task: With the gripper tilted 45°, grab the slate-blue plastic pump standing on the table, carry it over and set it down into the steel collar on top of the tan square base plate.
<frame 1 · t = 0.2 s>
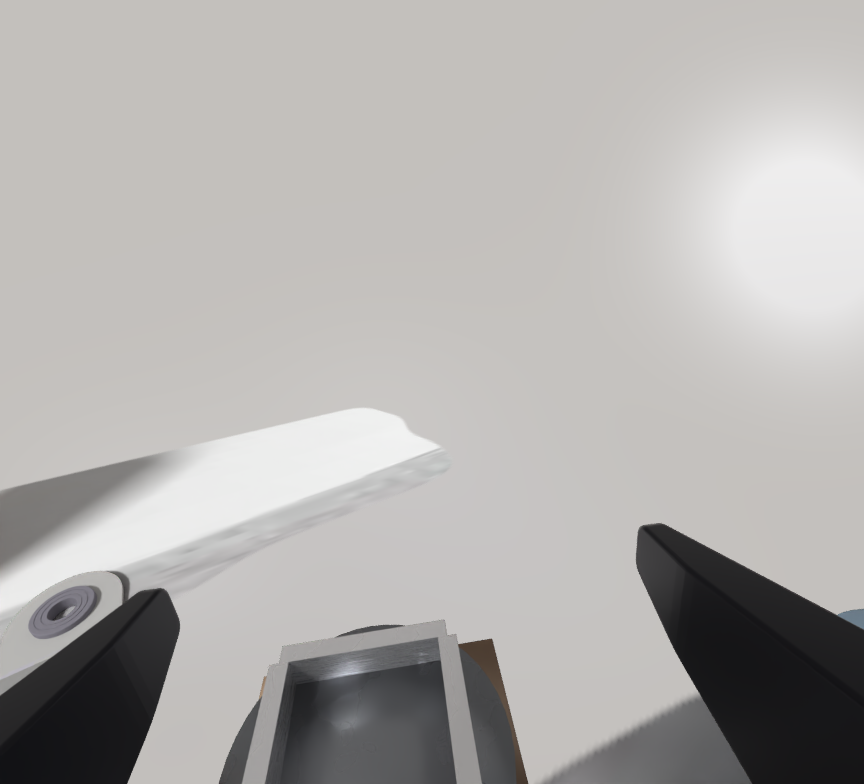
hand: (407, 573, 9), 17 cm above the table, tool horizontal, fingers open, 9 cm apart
bracket: (60, 652, 28), on the table
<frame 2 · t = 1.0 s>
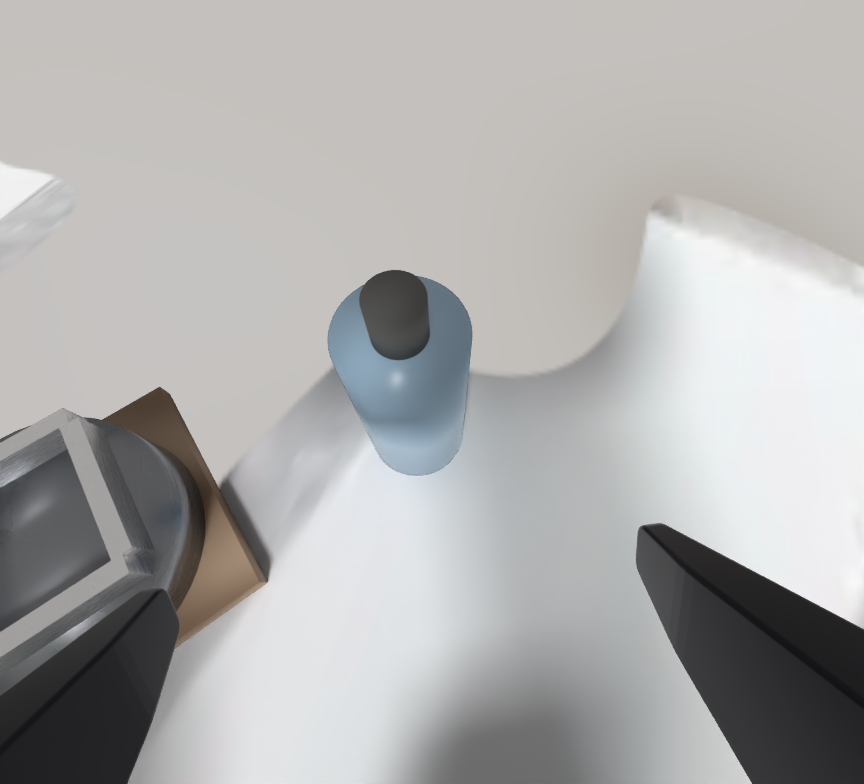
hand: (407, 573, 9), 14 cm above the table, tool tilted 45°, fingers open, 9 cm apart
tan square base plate: (101, 551, 22), on the table
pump: (417, 431, 24), on the table
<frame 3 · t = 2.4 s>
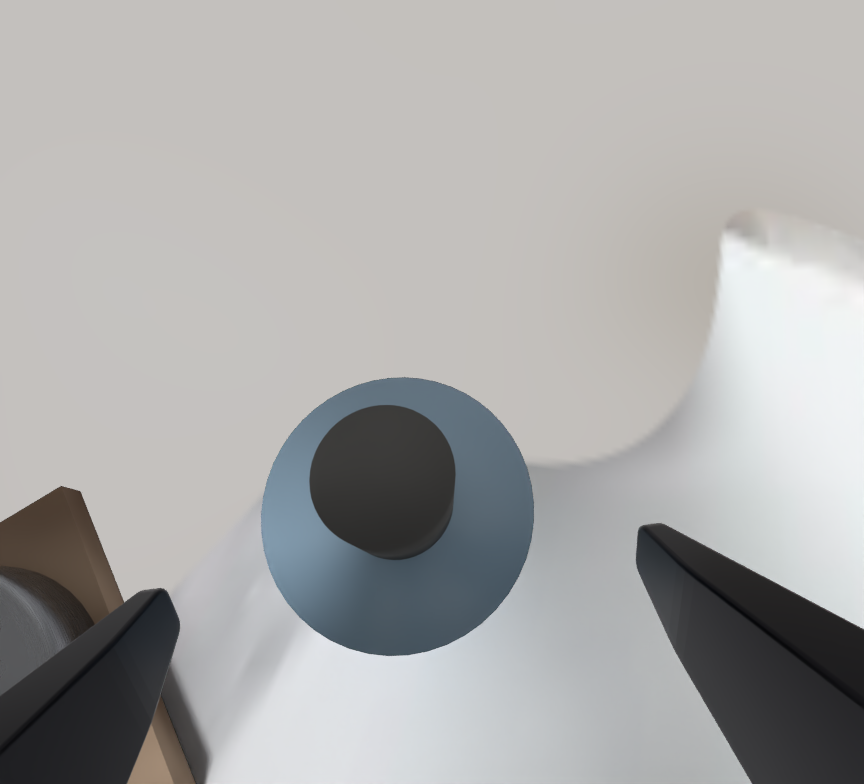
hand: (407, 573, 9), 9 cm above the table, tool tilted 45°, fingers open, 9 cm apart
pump: (423, 549, 17), on the table
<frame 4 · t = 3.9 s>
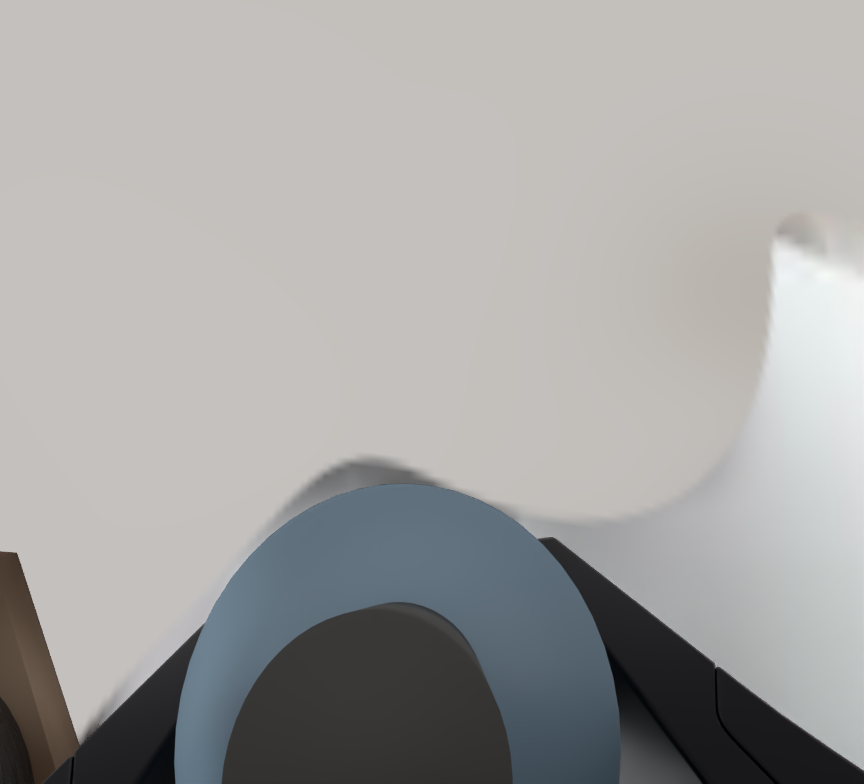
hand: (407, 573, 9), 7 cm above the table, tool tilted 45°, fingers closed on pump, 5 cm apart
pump: (428, 627, 14), on the table, touching gripper
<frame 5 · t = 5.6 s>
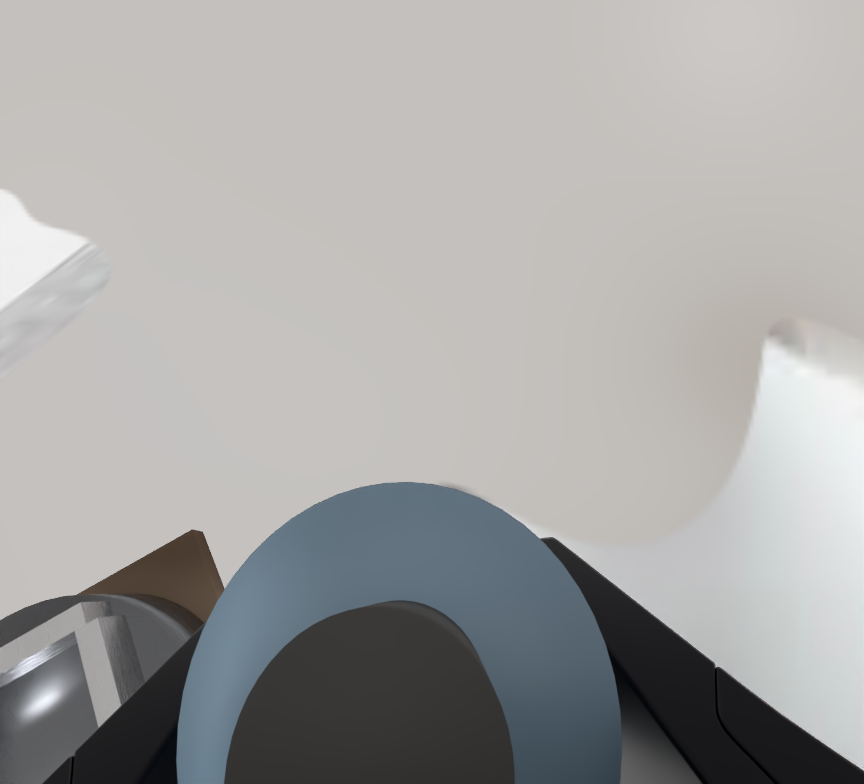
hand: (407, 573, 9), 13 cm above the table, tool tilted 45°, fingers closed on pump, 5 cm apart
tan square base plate: (115, 736, 19), on the table
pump: (429, 626, 14), point 7 cm above the table, touching gripper
when the fingers open (11 cm above the table, at t = 7.6 s): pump stays where it is, resting on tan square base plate.
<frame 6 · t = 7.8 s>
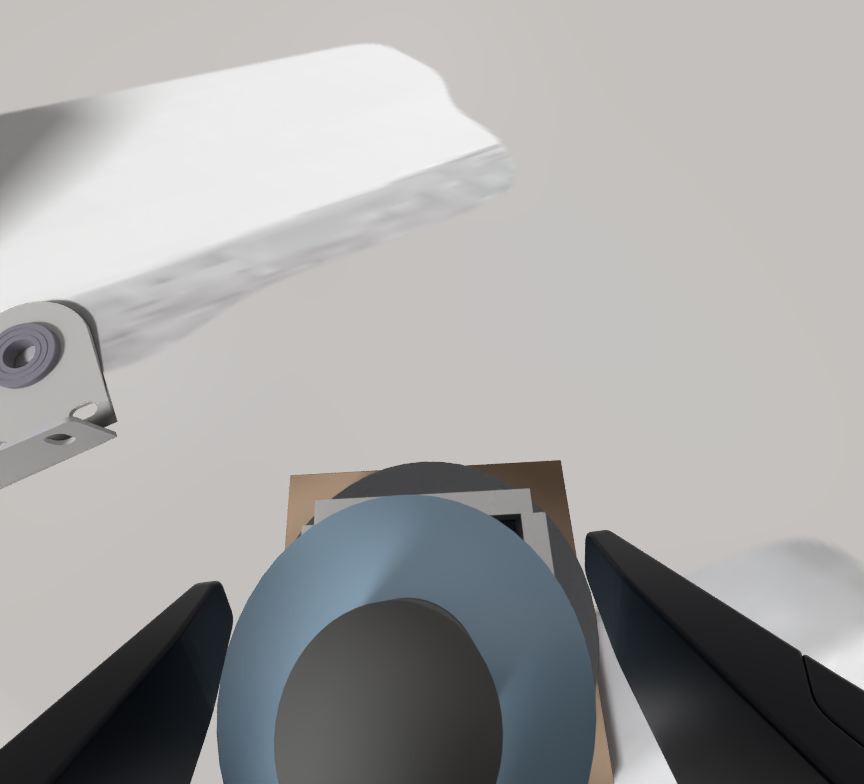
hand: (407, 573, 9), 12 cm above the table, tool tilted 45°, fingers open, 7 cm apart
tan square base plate: (432, 617, 19), on the table
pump: (428, 626, 15), point 4 cm above the table, touching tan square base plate
bracket: (40, 402, 24), on the table
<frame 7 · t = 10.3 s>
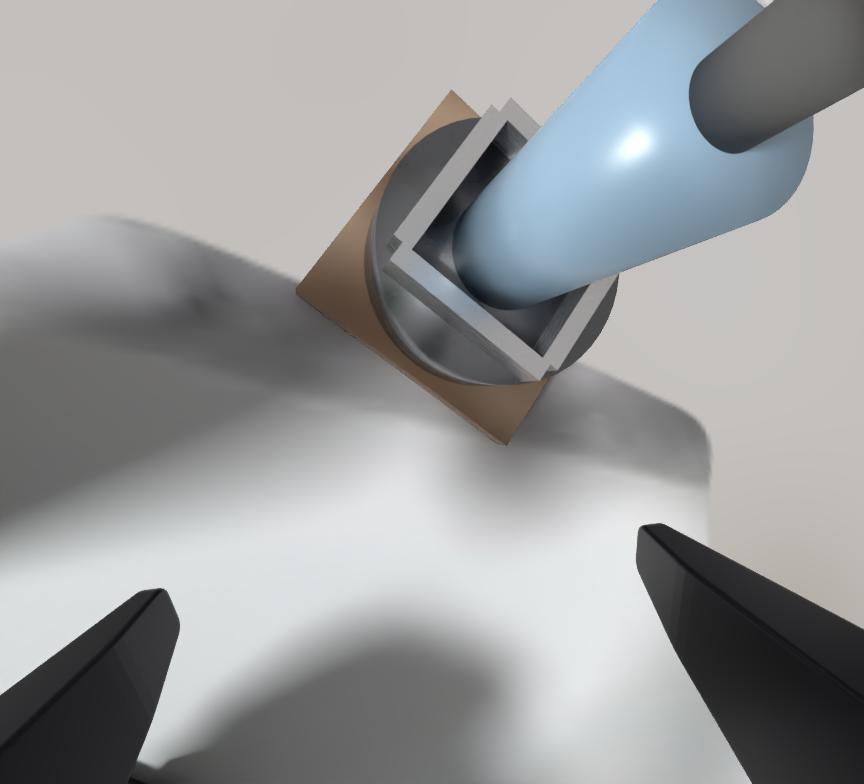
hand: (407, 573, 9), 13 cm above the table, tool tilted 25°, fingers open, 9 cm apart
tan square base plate: (471, 276, 23), on the table
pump: (506, 252, 19), point 4 cm above the table, touching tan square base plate
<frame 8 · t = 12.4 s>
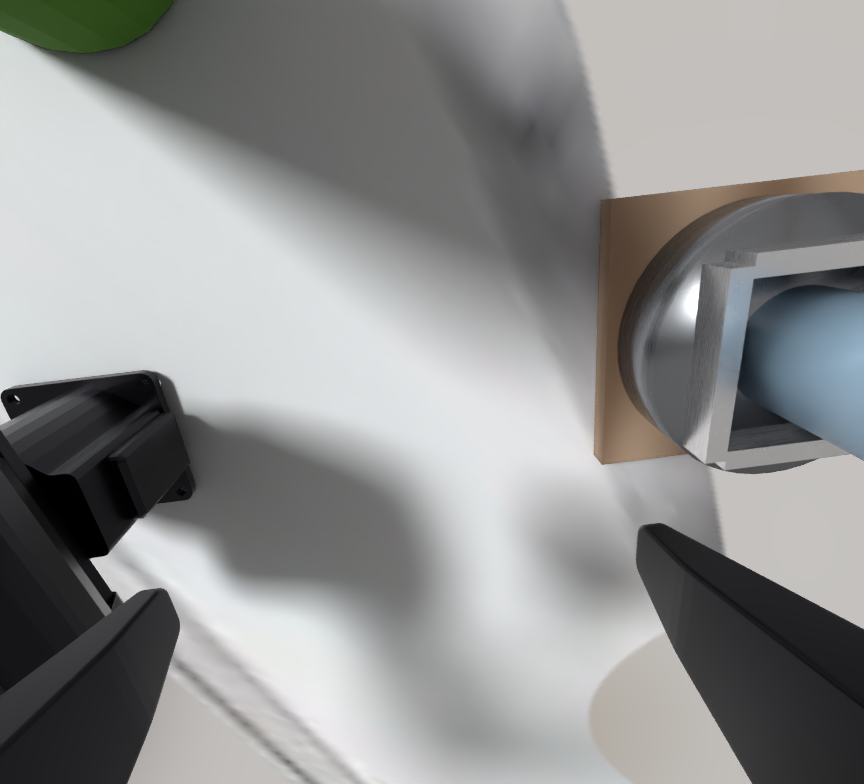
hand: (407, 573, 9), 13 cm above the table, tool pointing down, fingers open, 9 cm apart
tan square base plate: (724, 325, 21), on the table
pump: (793, 348, 17), point 4 cm above the table, touching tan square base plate
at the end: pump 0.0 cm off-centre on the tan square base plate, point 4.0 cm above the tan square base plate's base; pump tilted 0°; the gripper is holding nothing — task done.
